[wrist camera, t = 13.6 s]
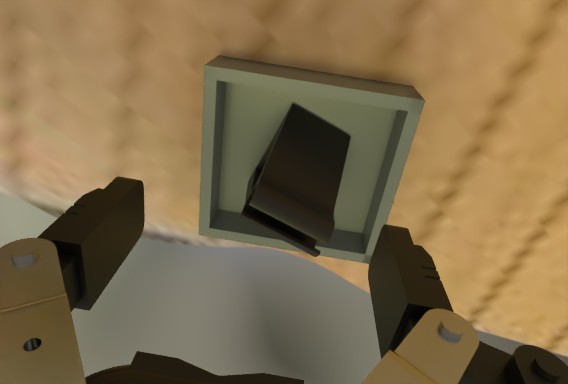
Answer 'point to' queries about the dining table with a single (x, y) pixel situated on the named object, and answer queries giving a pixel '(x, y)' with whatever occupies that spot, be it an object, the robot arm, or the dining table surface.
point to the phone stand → (298, 181)
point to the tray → (264, 124)
